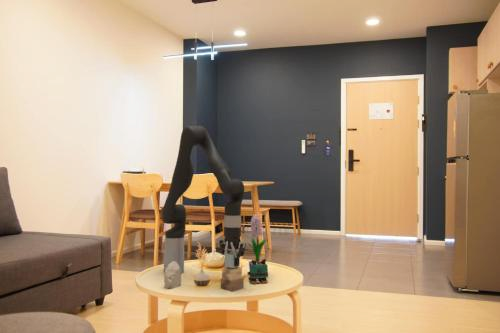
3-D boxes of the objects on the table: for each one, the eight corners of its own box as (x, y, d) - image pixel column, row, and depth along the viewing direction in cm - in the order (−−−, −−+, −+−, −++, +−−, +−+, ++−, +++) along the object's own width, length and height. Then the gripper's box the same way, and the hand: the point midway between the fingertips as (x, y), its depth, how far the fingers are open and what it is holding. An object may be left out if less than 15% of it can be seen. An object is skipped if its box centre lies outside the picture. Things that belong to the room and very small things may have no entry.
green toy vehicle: (263, 257, 207) (269, 259, 197) (263, 280, 206) (270, 283, 196) (244, 258, 204) (250, 260, 195) (245, 281, 203) (251, 284, 194)
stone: (170, 289, 186) (170, 265, 186) (161, 288, 188) (161, 263, 188) (183, 284, 194) (183, 260, 194) (175, 283, 196) (175, 259, 196)
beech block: (222, 278, 189) (222, 267, 189) (232, 275, 193) (232, 265, 193) (231, 281, 184) (231, 270, 184) (241, 278, 189) (241, 268, 189)
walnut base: (220, 288, 188) (220, 278, 188) (231, 285, 194) (231, 275, 194) (232, 292, 184) (232, 281, 184) (243, 288, 189) (243, 278, 189)
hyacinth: (272, 276, 209) (272, 213, 209) (257, 280, 201) (258, 215, 201) (258, 273, 215) (259, 212, 215) (243, 277, 207) (244, 213, 207)
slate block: (224, 266, 189) (224, 253, 188) (231, 264, 192) (231, 252, 192) (232, 268, 186) (232, 255, 186) (239, 266, 189) (239, 253, 189)
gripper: (214, 224, 190) (214, 264, 191) (239, 228, 181) (238, 269, 181) (226, 223, 196) (225, 261, 196) (250, 226, 187) (250, 266, 187)
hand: (232, 265), depth 189 cm, fingers closed on slate block, 4 cm apart
